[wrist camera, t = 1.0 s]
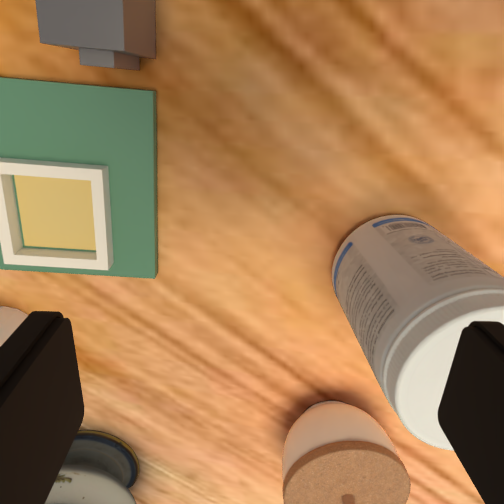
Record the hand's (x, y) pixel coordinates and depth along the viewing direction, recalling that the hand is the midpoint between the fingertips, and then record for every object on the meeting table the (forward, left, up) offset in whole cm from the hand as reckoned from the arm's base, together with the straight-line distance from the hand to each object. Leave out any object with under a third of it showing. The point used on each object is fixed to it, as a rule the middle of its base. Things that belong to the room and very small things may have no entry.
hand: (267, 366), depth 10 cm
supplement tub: (+7, +12, -22) cm, 27 cm away
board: (+2, -13, -22) cm, 26 cm away
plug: (-9, -9, -22) cm, 26 cm away
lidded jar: (+25, +10, -22) cm, 35 cm away
